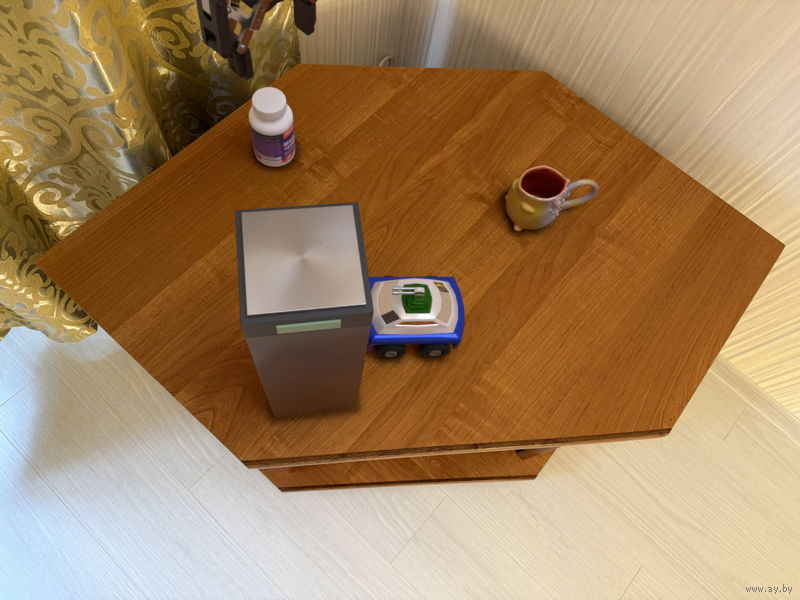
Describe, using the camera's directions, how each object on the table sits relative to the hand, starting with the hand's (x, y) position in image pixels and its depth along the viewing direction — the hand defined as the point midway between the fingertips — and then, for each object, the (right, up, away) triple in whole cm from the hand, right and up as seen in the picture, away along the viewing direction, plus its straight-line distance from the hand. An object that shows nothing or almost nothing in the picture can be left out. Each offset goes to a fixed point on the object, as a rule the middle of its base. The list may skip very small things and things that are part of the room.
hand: (274, 51), depth 60 cm
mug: (+32, -13, +20) cm, 40 cm away
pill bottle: (-4, -5, +19) cm, 20 cm away
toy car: (+14, -28, +12) cm, 33 cm away
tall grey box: (+3, -33, +8) cm, 34 cm away
